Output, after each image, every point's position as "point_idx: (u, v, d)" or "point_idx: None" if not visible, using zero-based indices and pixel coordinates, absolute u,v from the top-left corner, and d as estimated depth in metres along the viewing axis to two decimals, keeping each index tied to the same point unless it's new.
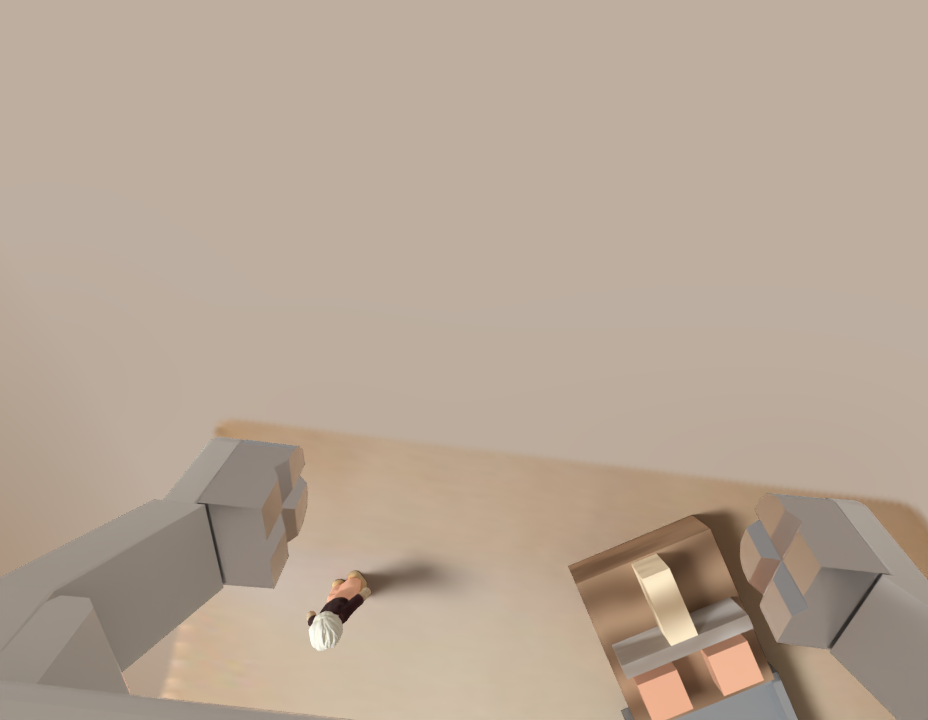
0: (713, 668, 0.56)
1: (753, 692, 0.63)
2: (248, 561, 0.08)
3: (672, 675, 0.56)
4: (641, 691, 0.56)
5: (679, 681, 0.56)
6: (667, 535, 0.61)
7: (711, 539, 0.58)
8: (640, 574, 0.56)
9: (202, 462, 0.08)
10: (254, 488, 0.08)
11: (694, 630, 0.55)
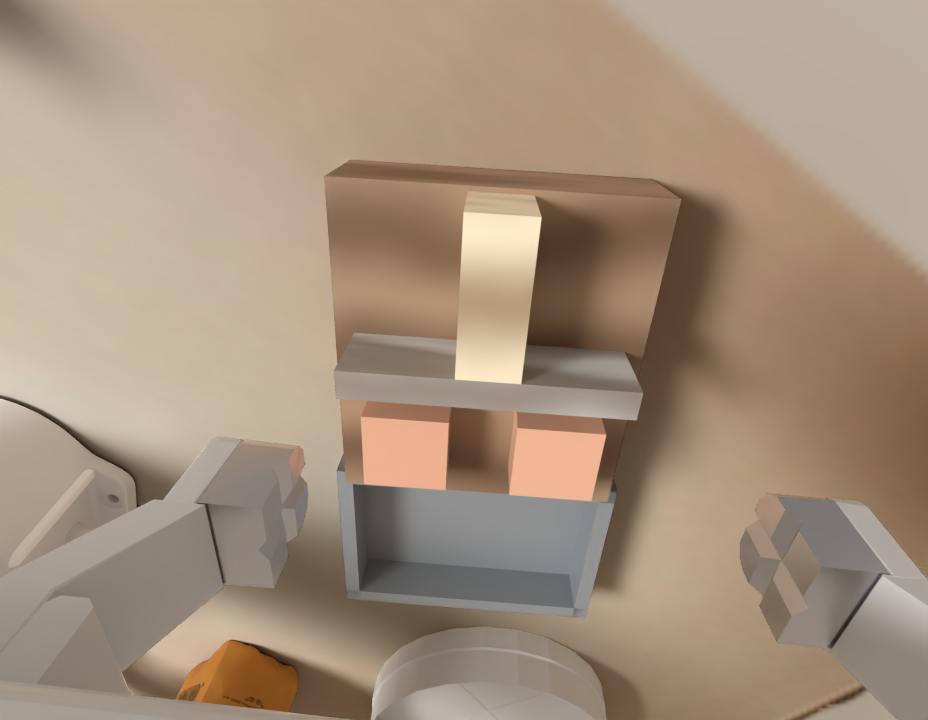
0: (516, 449, 0.28)
1: None
2: (248, 561, 0.08)
3: (434, 429, 0.27)
4: (364, 428, 0.27)
5: (443, 442, 0.28)
6: (580, 182, 0.26)
7: (667, 224, 0.24)
8: (468, 206, 0.21)
9: (201, 462, 0.08)
10: (254, 488, 0.08)
11: (517, 372, 0.24)
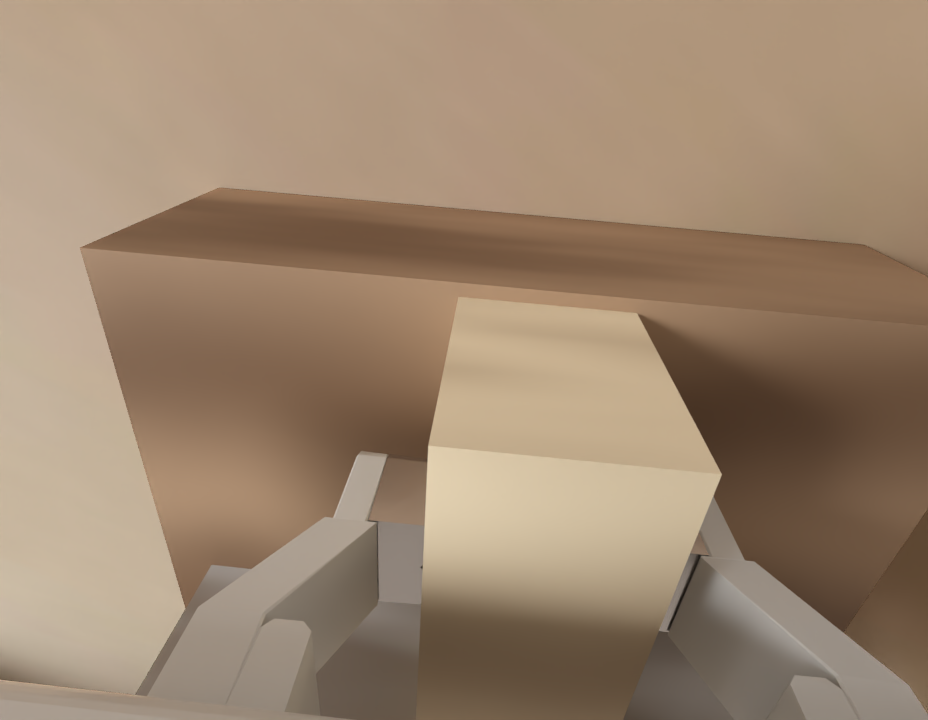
0: None
1: None
2: (407, 578, 0.08)
3: None
4: None
5: None
6: (730, 262, 0.11)
7: None
8: (450, 391, 0.06)
9: (358, 478, 0.08)
10: (418, 505, 0.08)
11: None
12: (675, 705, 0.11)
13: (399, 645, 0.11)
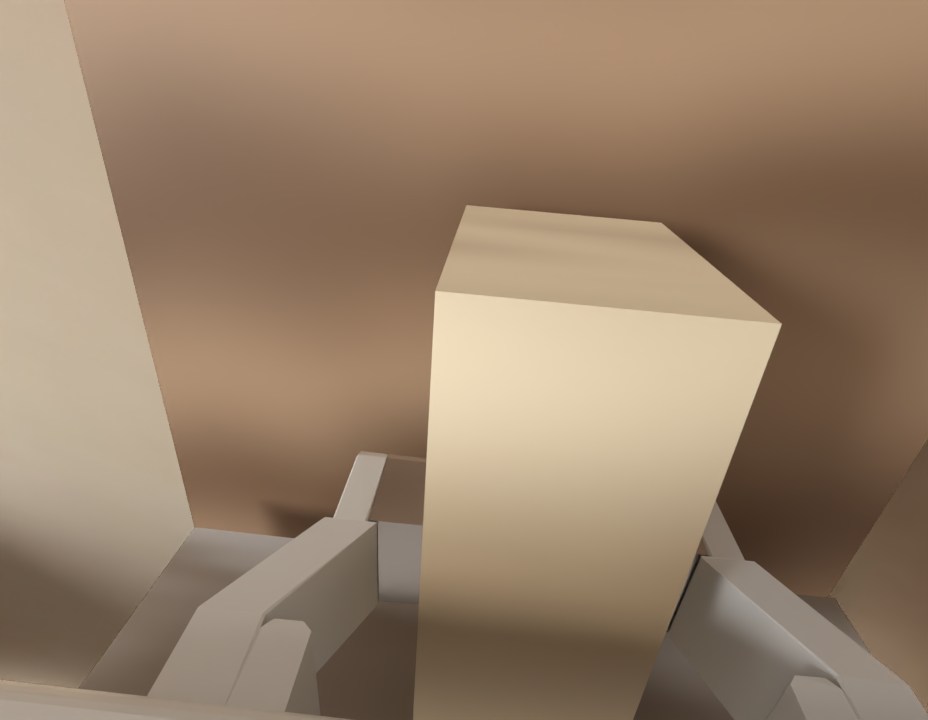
0: None
1: None
2: (408, 578, 0.08)
3: None
4: None
5: None
6: None
7: None
8: (460, 259, 0.06)
9: (358, 478, 0.08)
10: (418, 505, 0.08)
11: None
12: None
13: (397, 610, 0.10)
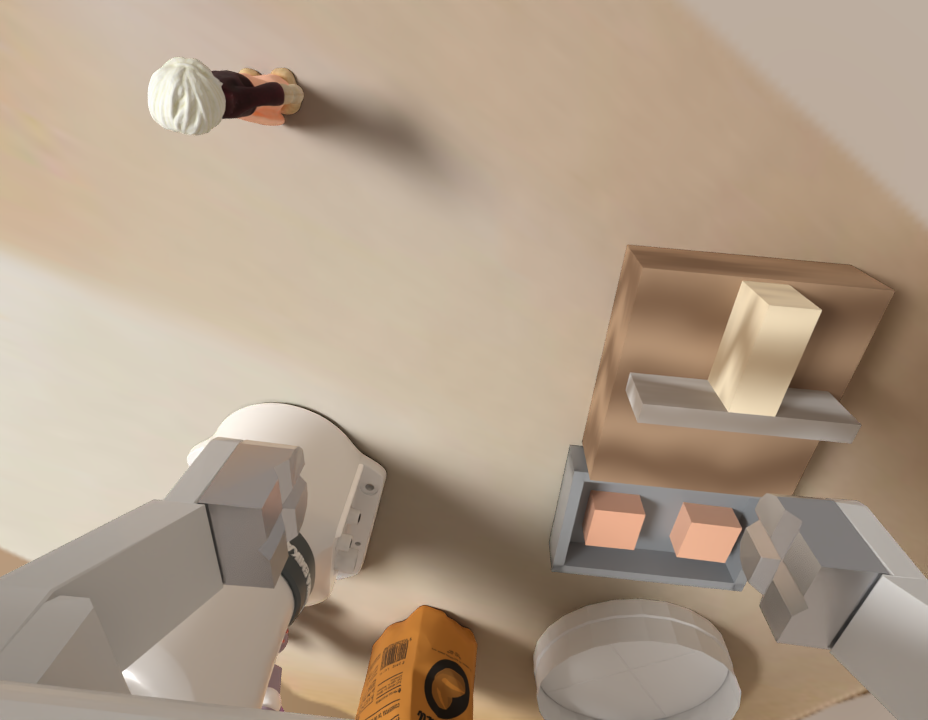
0: (674, 526, 0.51)
1: (731, 495, 0.48)
2: (248, 561, 0.08)
3: None
4: None
5: None
6: (809, 271, 0.36)
7: (881, 306, 0.34)
8: (763, 298, 0.31)
9: (202, 462, 0.08)
10: (254, 488, 0.08)
11: (775, 408, 0.34)
12: (792, 403, 0.36)
13: (704, 390, 0.36)
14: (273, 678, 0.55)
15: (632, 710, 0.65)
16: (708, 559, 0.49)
